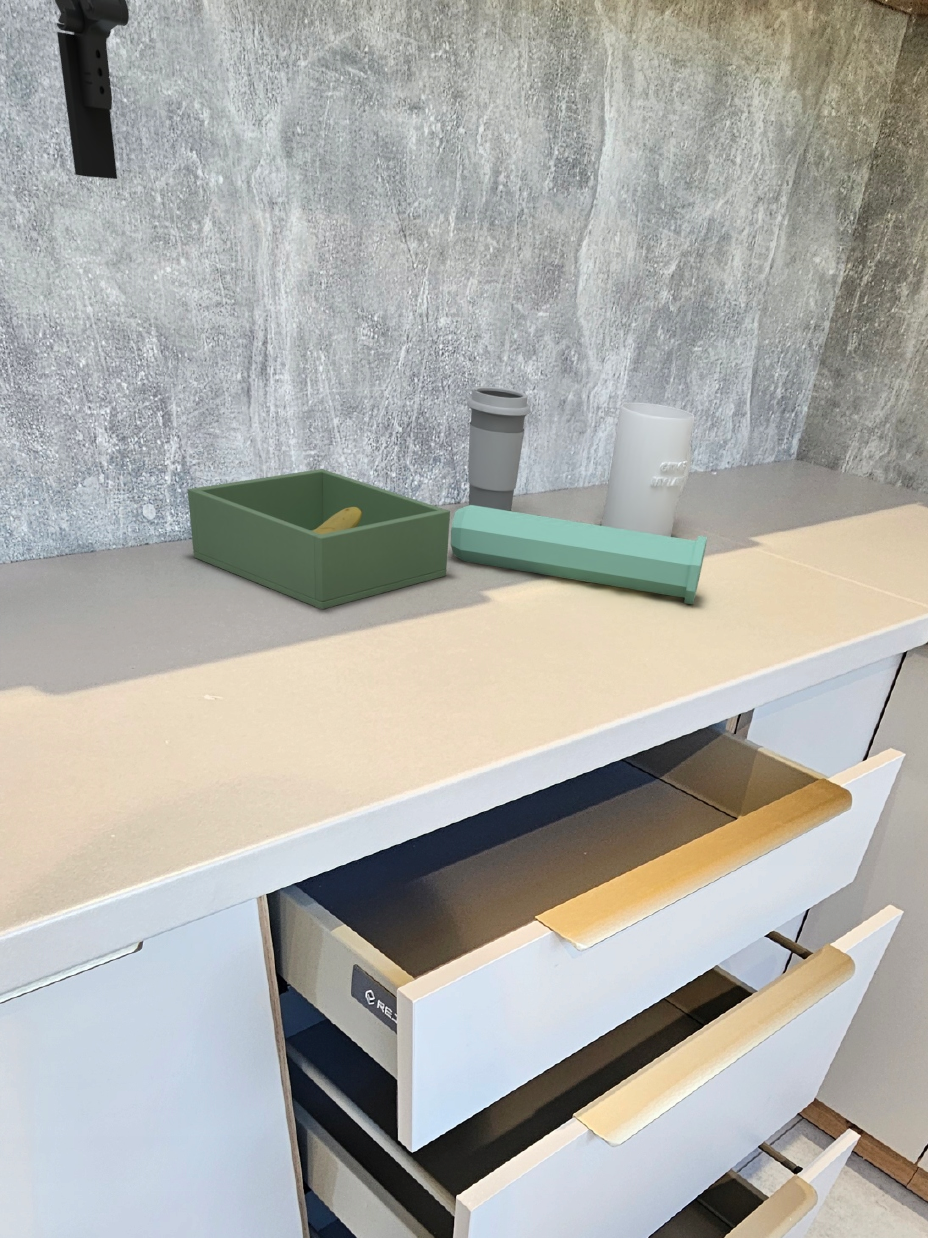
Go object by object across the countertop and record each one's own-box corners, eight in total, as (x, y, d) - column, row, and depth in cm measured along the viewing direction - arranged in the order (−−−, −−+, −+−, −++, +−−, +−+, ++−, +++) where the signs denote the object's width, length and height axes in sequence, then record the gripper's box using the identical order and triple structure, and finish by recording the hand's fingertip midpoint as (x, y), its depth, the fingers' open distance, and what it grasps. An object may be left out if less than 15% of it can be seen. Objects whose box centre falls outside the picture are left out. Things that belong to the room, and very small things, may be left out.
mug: (703, 535, 117) (730, 414, 109) (645, 549, 110) (669, 421, 102) (646, 517, 121) (668, 399, 113) (587, 529, 114) (605, 404, 106)
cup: (452, 509, 114) (460, 383, 106) (508, 512, 116) (520, 387, 108) (467, 528, 109) (477, 396, 101) (526, 530, 111) (540, 401, 103)
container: (448, 490, 96) (707, 531, 93) (462, 504, 101) (707, 543, 98) (439, 558, 98) (692, 600, 95) (453, 568, 103) (692, 608, 101)
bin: (193, 557, 92) (187, 489, 89) (322, 531, 103) (321, 468, 99) (322, 609, 86) (321, 538, 82) (446, 576, 96) (450, 511, 92)
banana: (350, 548, 98) (350, 502, 95) (368, 554, 97) (368, 508, 94) (272, 565, 91) (269, 516, 89) (290, 572, 90) (288, 523, 88)
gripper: (-241, -379, 57) (-125, 134, 71) (36, -413, 47) (104, 185, 62) (-111, -327, 61) (-27, 144, 76) (163, -349, 52) (199, 193, 67)
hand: (32, 164), depth 69 cm, fingers open, 13 cm apart
